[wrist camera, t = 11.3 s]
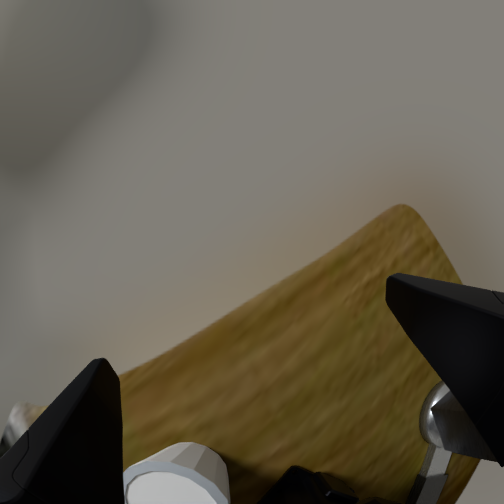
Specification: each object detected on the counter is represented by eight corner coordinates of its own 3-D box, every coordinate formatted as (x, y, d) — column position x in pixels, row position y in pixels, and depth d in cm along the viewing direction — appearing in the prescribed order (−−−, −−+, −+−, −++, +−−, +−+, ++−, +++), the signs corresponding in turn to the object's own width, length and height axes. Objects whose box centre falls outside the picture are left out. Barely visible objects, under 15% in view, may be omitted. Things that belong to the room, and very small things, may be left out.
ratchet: (427, 375, 19) (452, 373, 16) (474, 377, 18) (498, 375, 15) (387, 507, 14) (405, 521, 11) (440, 497, 13) (460, 507, 10)
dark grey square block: (444, 449, 15) (534, 467, 4) (430, 408, 16) (531, 411, 6) (480, 414, 15) (567, 410, 5) (467, 372, 17) (561, 355, 7)
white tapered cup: (170, 508, 14) (144, 548, 8) (138, 442, 17) (97, 465, 10) (248, 495, 15) (249, 539, 9) (217, 425, 18) (203, 451, 11)
